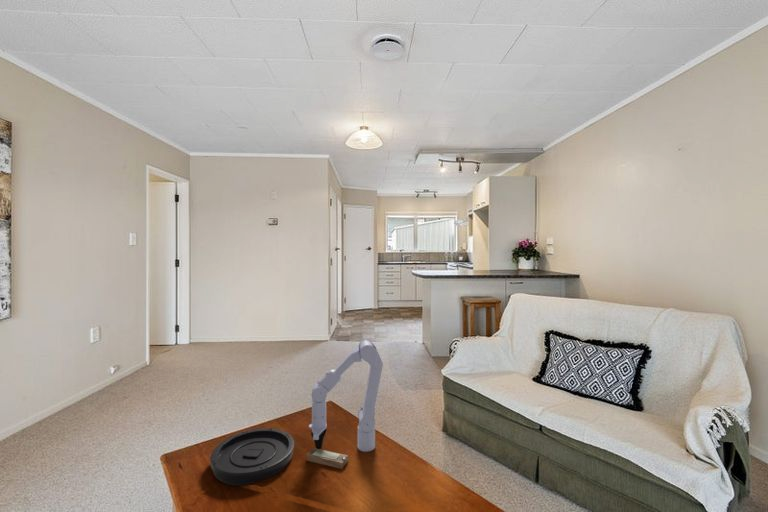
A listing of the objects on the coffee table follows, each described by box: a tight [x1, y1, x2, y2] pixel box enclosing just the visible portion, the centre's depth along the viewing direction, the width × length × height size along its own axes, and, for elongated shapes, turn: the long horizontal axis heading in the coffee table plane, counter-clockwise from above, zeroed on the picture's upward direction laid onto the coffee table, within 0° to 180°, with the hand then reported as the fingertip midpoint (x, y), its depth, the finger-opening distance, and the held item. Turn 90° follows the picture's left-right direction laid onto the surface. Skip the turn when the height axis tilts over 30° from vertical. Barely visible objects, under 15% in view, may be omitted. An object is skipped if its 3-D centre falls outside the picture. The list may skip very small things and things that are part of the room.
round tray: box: [209, 428, 295, 487], centre depth 131 cm, size 30×6×30 cm
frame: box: [306, 447, 349, 470], centre depth 130 cm, size 5×15×3 cm, turn 71°
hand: (318, 448), depth 138 cm, fingers closed
